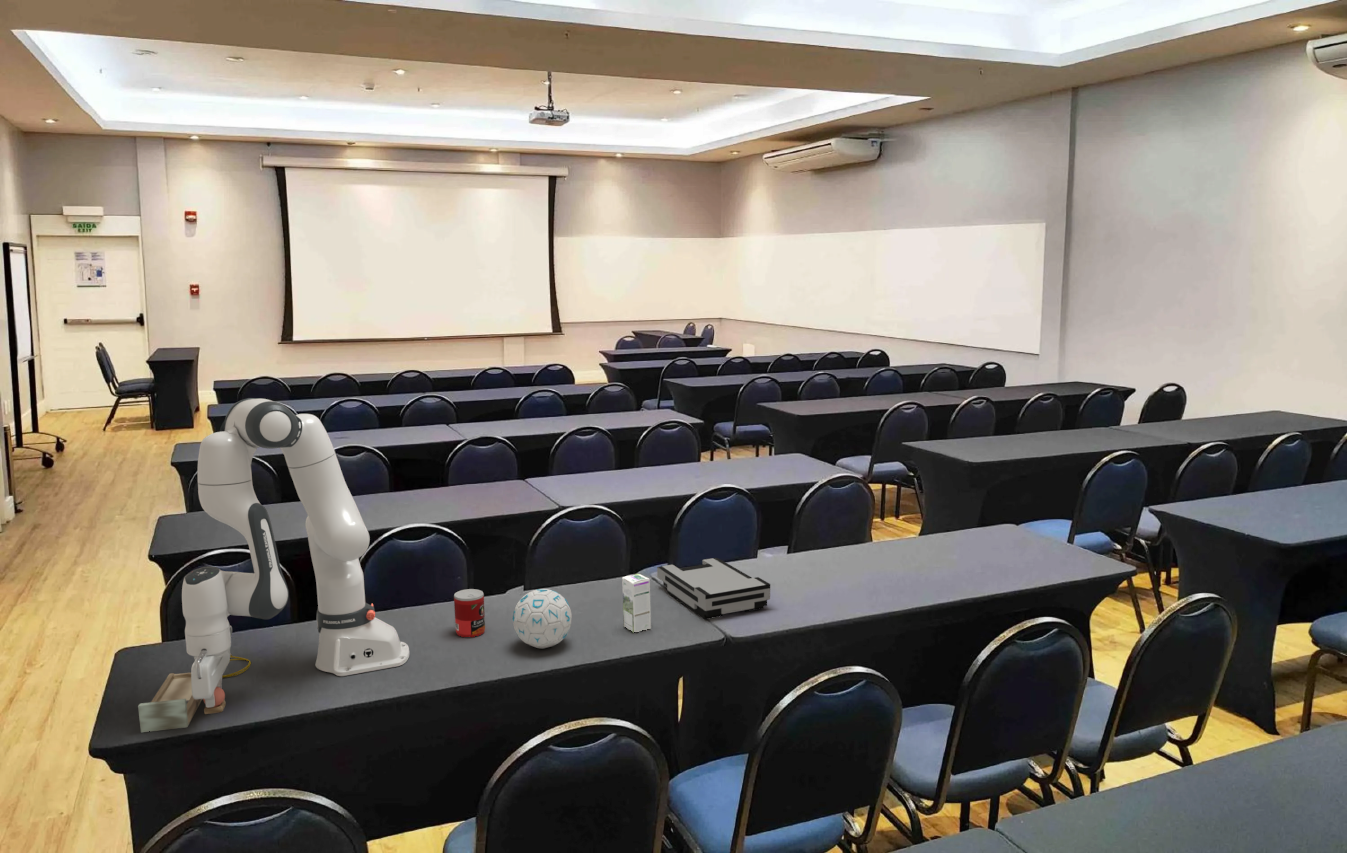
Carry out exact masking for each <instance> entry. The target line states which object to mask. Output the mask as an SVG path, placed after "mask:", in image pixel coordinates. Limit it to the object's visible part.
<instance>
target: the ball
mask: <svg viewBox="0 0 1347 853" xmlns="http://www.w3.org/2000/svg"><path fill="white" fill-rule="evenodd" d="M214 696H215V697H216V704H215V706H214V707H216V706H219V705H220V704H221V703H222V702H223V701H224V700H225V698H226V693H225V691H224V689H221V688H220V687H216V688H215V690H214ZM202 701H203V703H204V705H206V703H205V699H202Z"/></svg>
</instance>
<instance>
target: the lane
mask: <svg viewBox="0 0 1347 853" xmlns="http://www.w3.org/2000/svg"><path fill="white" fill-rule="evenodd" d="M202 701H203V699H194V698H193V696H192V685H191V672H184V673H183V672H182V673H174V672H172V673H169V674H168V675H167V677H166V678H165V680H164V681H163V683H162V684H161V686H160V687H159V689H158V691H157V692H156V693H155V695H154V697H153V698H152V700H151V701H150V702H143V703H139V704H138V706H137V708H138V716H139V717H138V718H139V719H138V720H139V726H140V727H139V728H140V733H147V732H149V731H150V732H157V731H166V730H174V729H183V728H185V729H186V728H188V727H189V725H190V723H191V721H192V719H193V717H194V716H195V714H196V712H197V710H198V709H199V706H200V705H201V703H202Z"/></svg>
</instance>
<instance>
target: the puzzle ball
mask: <svg viewBox="0 0 1347 853" xmlns="http://www.w3.org/2000/svg"><path fill="white" fill-rule="evenodd" d="M572 616H573V614H572V610H571V607H570V605H569V602H568V600H567V599H566V598H565V597H564V596H563V595H562V594H560V593H559V592H558V591H555V590H553V589H552V590H551V589H548V588H538V589H535V590H534V589H533V590H531V591H530V592H527V593H526V594H524V595H523V596H522V597H521V598H520V599H519V601H518V602H517V603H516V605H515V608H514V610H513V614H512V624H513V628H514V629H513V630H514V631H515V632H516V635H517V636H518V638H519V639H520V640H521V642H523V643H525V644H527V645H529V646H531V647H534V648H535V649H536V648H537V649H547V648H550V647H554V646H556V645H557V644H560V643H561V642H562V641H563V640H564V639H565V638H566V637H567V635H568V633H569V631H570V628H571V626H572Z"/></svg>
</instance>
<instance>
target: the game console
mask: <svg viewBox="0 0 1347 853" xmlns="http://www.w3.org/2000/svg"><path fill="white" fill-rule="evenodd" d="M656 568H657V569H656V577H657V579H659V580H661V582H663V583H662V584H663V585H662V586H664V587H665V588H666V593H667V594H668V595H670V596H671V597H672V598H674V599H675V600H677V601H678V602H679V603H681V604H682V605H683V606H685V607H686V608H688V609H689V610H691V612H693V613H695V614H696V615H698V616H699V617H700V618H701V619H703V620H708V619H709V618H710V619H713V618H712V617H715V618H720V617H724V615H725V614H730V613H735V612H741V611H744V612H745V613H747V612H751V611H752V612H753V611H758V610H762V609H764V608H765V607H767V606H768V600H769V601H770V600H771V583H769V582H768V581H766V580H764V579H762V578H760V577H759V576H757V577H756V576H755V577H752V576H750V575H748V574H746V573H744V572H743V571H741V570H739V569H738V568H736V567H735V566H732V565H731V564H729V563H728V562H726V561H724V560H722V559H720V558H718V557H714V558H706V559H702V564H698V565H692V566H686V567H685V566H684V567H677V566H675V565H674V564H668V565H661V566H657V567H656ZM719 616H720V617H719Z"/></svg>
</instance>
